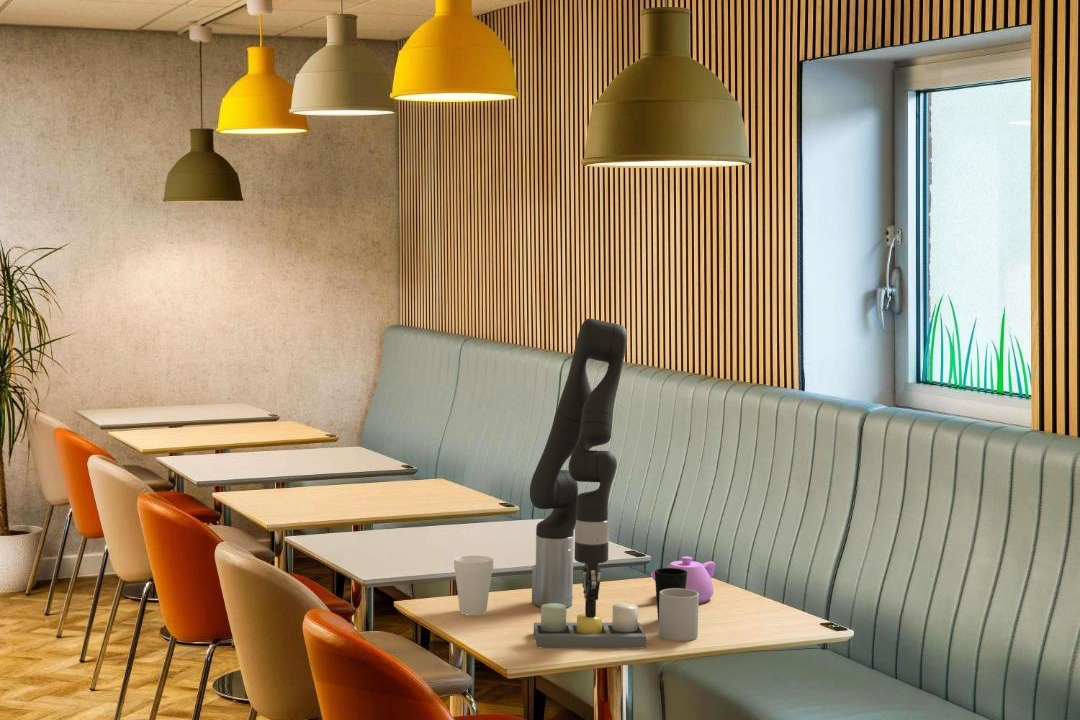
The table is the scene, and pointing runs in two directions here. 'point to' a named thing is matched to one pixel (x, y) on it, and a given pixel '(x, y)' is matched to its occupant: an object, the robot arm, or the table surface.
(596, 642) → the grey compartment tray
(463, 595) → the foam cup
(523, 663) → the table surface
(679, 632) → the mug
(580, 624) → the mustard button
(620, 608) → the offwhite button
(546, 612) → the sage button
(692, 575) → the teapot
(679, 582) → the cup
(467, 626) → the table surface
